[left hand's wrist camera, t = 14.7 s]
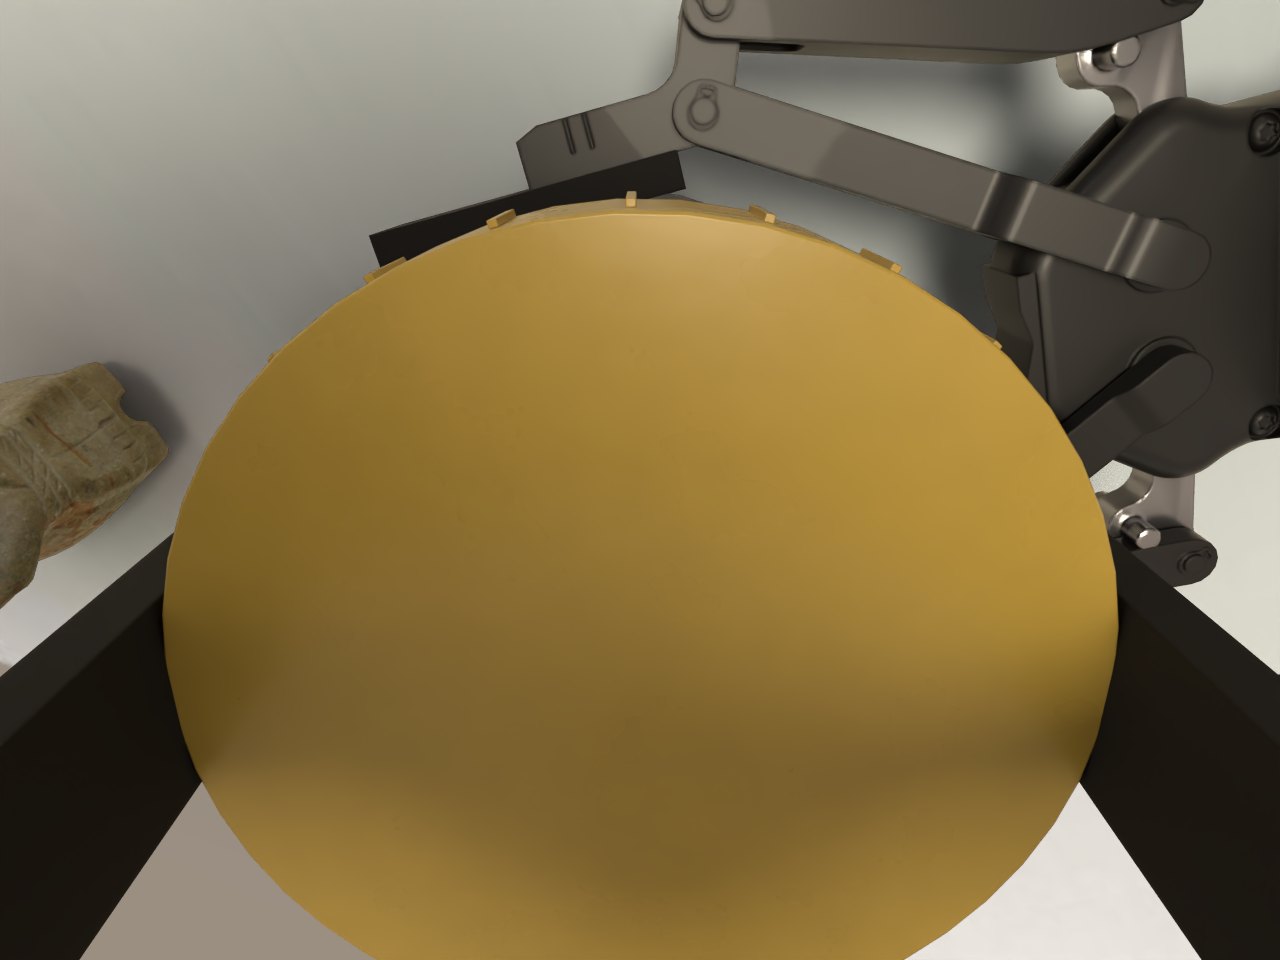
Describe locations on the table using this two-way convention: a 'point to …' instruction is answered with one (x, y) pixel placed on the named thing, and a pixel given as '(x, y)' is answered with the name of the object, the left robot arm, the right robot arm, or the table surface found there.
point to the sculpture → (64, 464)
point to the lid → (640, 600)
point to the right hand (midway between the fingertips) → (472, 470)
